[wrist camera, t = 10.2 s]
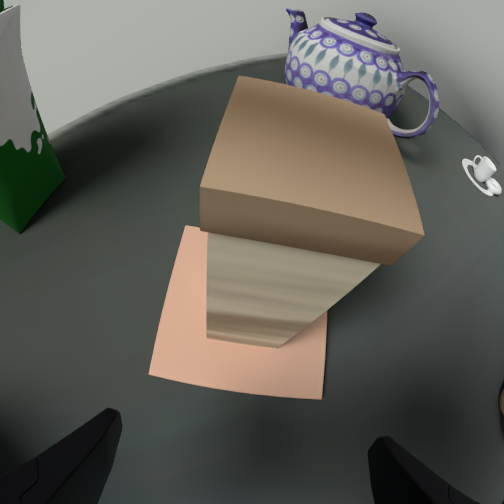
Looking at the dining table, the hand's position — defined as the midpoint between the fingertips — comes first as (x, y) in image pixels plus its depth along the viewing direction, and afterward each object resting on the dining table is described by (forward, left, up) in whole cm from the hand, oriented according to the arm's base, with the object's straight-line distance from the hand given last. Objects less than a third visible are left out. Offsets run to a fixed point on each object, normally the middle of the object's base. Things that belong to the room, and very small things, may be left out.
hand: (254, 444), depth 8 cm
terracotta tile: (+6, -4, -9) cm, 12 cm away
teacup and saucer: (+7, -47, -10) cm, 48 cm away
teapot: (+26, -26, -9) cm, 38 cm away
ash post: (+6, -4, -8) cm, 11 cm away
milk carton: (+24, +12, -9) cm, 29 cm away
